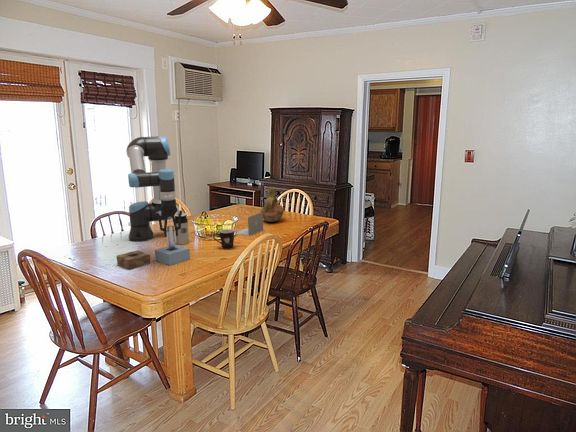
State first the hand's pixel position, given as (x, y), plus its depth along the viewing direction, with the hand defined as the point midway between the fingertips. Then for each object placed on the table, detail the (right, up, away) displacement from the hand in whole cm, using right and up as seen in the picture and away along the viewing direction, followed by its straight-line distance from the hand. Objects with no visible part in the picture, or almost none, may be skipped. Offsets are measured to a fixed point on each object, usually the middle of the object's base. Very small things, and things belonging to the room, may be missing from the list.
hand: (171, 242), depth 221 cm
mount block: (-18, -11, -4) cm, 22 cm away
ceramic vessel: (+51, +10, +88) cm, 102 cm away
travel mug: (-3, -3, +34) cm, 34 cm away
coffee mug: (+25, -5, +24) cm, 35 cm away
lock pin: (0, -6, +1) cm, 6 cm away
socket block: (0, -9, +2) cm, 10 cm away
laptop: (+36, +3, +59) cm, 69 cm away
